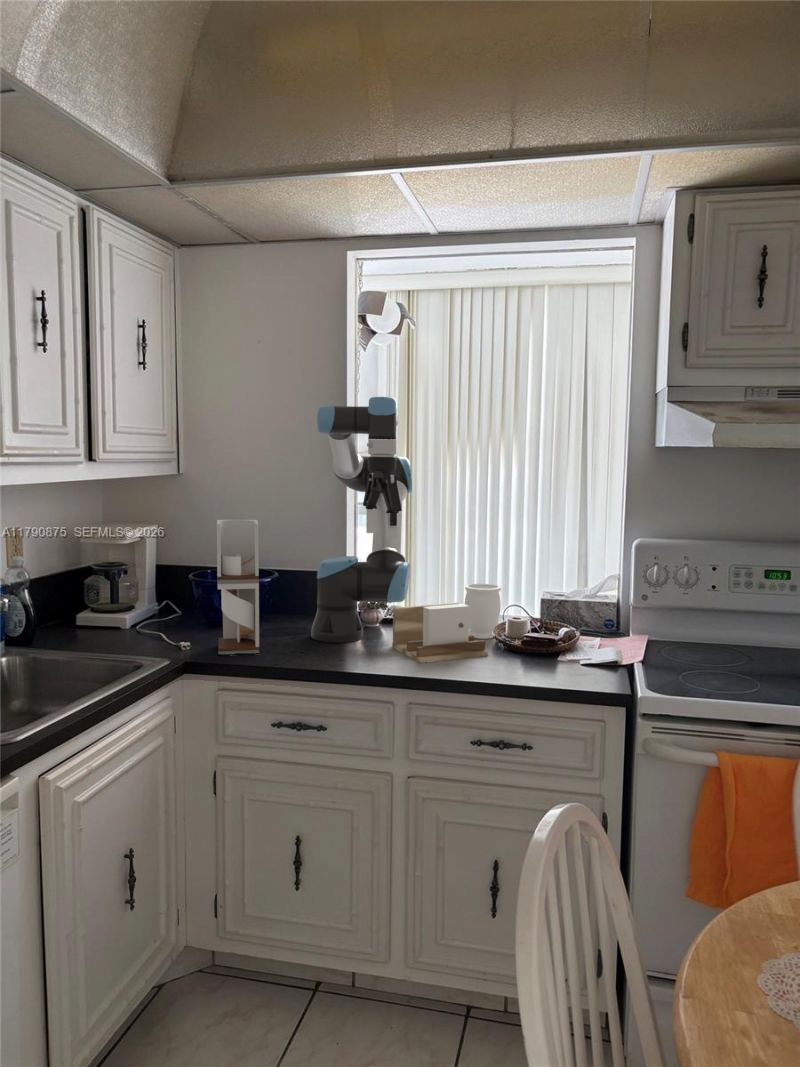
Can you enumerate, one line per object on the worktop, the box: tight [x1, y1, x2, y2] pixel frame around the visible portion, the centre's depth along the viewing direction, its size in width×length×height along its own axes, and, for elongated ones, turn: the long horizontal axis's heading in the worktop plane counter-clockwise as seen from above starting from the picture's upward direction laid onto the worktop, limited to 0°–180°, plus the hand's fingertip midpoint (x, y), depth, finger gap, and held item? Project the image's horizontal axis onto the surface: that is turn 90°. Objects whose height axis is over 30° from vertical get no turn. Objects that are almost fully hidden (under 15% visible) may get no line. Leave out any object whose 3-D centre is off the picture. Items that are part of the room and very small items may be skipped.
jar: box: [464, 583, 502, 640], centre depth 235 cm, size 11×10×15 cm
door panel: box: [423, 603, 469, 646], centre depth 213 cm, size 4×12×12 cm, turn 115°
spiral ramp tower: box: [216, 519, 260, 654], centre depth 215 cm, size 11×11×35 cm
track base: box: [391, 602, 489, 664], centre depth 217 cm, size 18×20×11 cm
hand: (381, 535), depth 214 cm, fingers open, 13 cm apart
